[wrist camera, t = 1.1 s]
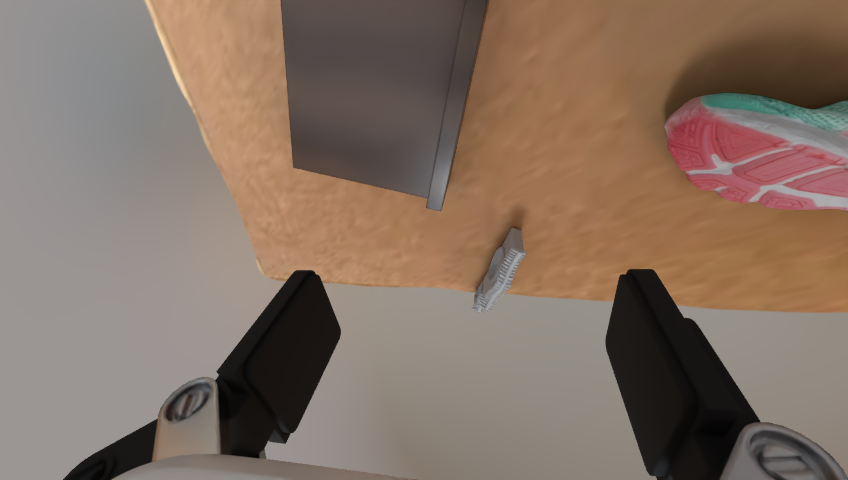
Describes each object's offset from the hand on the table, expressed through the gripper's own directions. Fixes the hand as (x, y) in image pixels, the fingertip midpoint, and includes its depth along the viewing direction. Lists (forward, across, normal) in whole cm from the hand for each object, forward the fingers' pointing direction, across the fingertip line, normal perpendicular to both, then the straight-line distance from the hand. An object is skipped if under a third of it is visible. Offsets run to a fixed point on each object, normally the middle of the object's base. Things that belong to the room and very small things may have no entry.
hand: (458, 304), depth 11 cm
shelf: (+26, +8, -6) cm, 28 cm away
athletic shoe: (+26, -28, +6) cm, 39 cm away
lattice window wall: (+26, -1, +19) cm, 32 cm away
